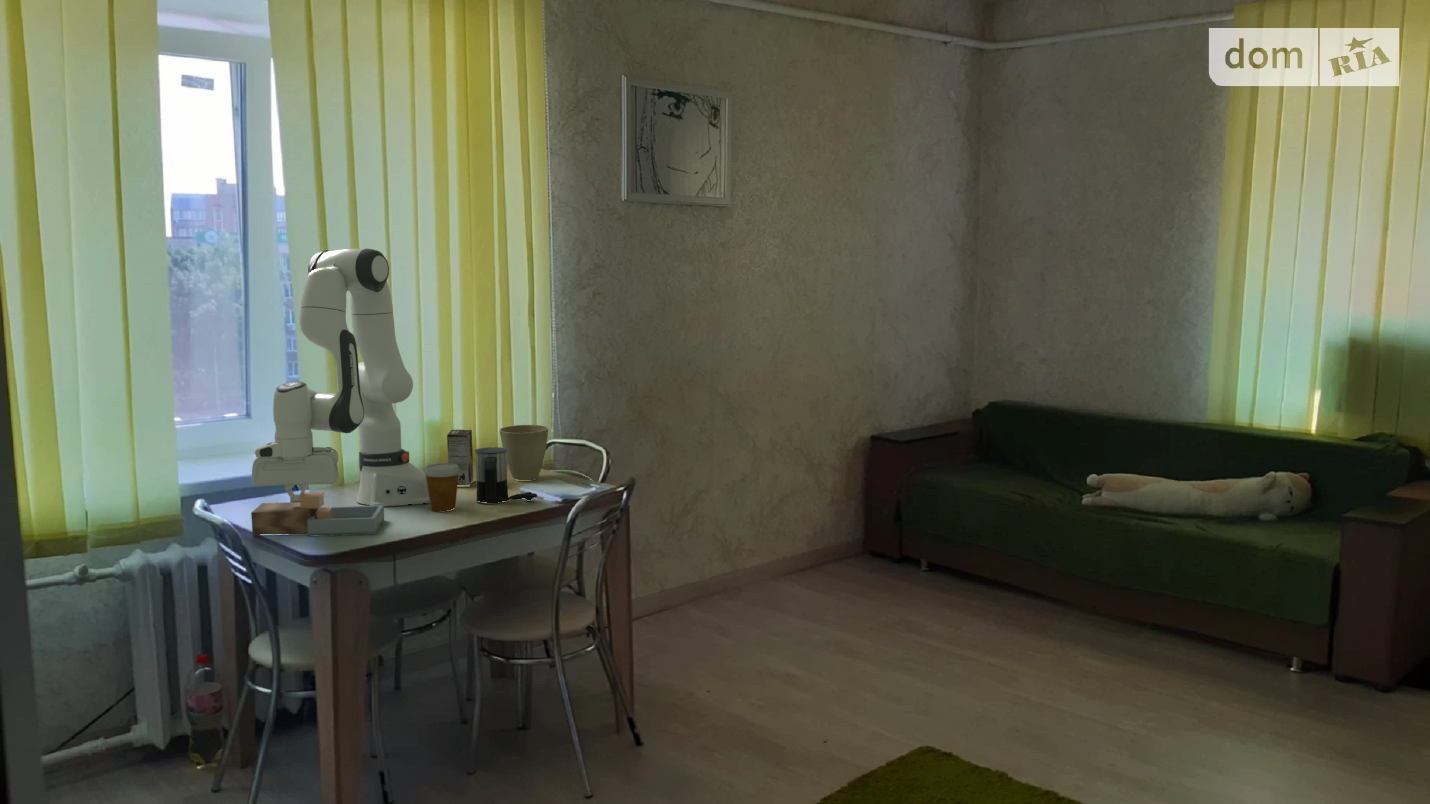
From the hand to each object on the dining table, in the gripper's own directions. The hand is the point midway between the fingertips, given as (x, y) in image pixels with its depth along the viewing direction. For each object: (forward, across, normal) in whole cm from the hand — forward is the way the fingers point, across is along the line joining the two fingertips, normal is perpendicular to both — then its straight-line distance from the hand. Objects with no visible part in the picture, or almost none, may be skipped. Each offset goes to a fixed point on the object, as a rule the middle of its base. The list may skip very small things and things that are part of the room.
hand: (297, 502), depth 266 cm
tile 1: (+1, -4, 0) cm, 4 cm away
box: (+7, -12, 0) cm, 14 cm away
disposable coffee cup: (+7, -34, -17) cm, 39 cm away
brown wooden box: (+7, +3, 0) cm, 8 cm away
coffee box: (+7, -36, -49) cm, 61 cm away
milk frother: (+7, -50, -25) cm, 56 cm away
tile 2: (+4, -5, 0) cm, 7 cm away
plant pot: (+7, -54, -54) cm, 77 cm away
